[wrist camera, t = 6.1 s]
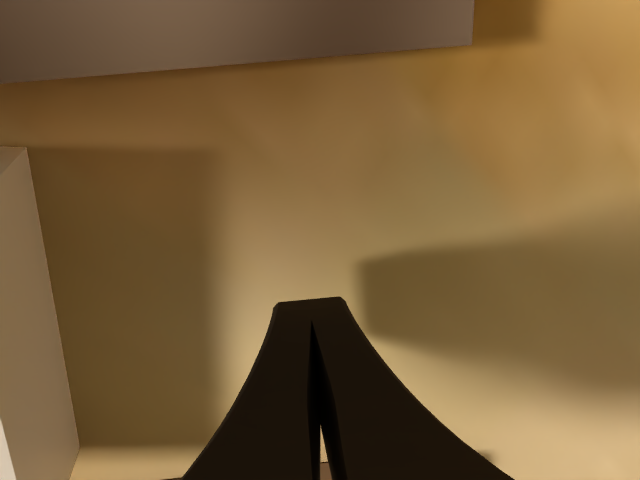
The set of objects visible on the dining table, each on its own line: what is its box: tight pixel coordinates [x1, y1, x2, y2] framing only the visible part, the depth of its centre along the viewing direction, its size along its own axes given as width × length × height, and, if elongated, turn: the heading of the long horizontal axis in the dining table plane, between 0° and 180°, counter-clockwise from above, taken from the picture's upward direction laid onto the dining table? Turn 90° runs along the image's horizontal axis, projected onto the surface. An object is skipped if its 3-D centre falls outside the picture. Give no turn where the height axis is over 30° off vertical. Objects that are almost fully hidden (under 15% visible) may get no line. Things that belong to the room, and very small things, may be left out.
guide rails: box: [0, 0, 474, 480], centre depth 13 cm, size 15×15×2 cm
